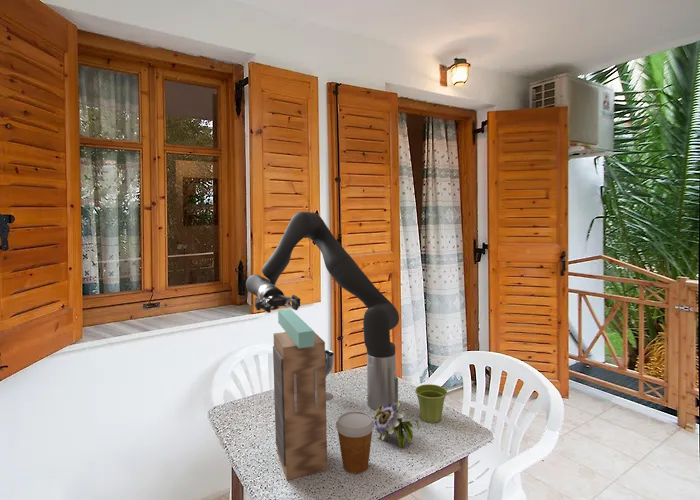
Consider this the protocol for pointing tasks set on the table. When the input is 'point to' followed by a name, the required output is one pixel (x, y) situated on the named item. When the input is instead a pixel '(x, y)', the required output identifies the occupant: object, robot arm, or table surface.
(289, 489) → the table surface
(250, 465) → the table surface
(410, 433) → the passion flower
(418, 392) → the plant pot
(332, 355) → the wine glass
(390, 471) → the table surface
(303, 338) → the rail
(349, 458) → the disposable coffee cup
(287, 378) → the tall wooden pillar block
